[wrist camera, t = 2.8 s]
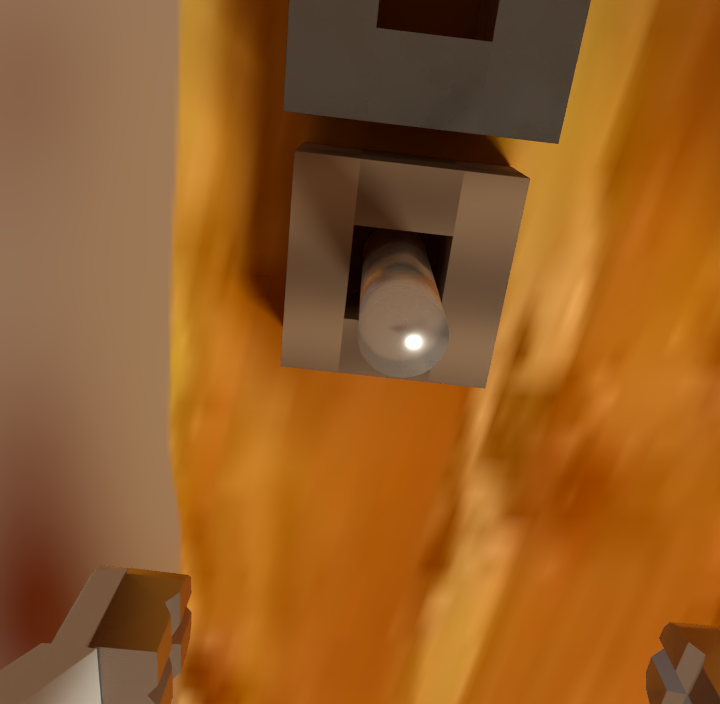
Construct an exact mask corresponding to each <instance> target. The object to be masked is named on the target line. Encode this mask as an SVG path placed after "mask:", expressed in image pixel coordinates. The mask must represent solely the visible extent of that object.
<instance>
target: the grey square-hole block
mask: <svg viewBox="0 0 720 704" xmlns="http://www.w3.org/2000/svg"><path fill="white" fill-rule="evenodd" d="M590 1H591V0H481V4H480V10H479V16H478V22H477V28H476V34H475V40H473V39H464V38H456V37H448V36H440V35H432V34H423V33H415V32H407V31H399V30H391V29H383V28H377V22H378V13H379V4H380V0H289V14H288V32H287V50H286V67H285V85H284V103H283V111H286V112H294V113H303V114H311V115H319V116H328V117H336V118H345V119H353V120H362V121H370V122H378V123H387V124H395V125H404V126H412V127H421V128H429V129H437V130H446V131H454V132H463V133H471V134H480V135H488V136H497V137H505V138H513V139H522V140H530V141H539V142H547V143H556V144H558V143H559V138H560V134H561V129H562V125H563V121H564V116H565V112H566V107H567V103H568V98H569V94H570V90H571V85H572V81H573V76H574V72H575V68H576V63H577V59H578V54H579V50H580V46H581V41H582V37H583V32H584V28H585V23H586V19H587V15H588V10H589V6H590Z"/></svg>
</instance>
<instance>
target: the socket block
mask: <svg viewBox="0 0 720 704" xmlns="http://www.w3.org/2000/svg"><path fill="white" fill-rule="evenodd" d="M529 181H530V178H528V177H527V176H525V175H523V174H522V173H520V172H519V171H517V170H515V169H514V168H512V167H509V166H501V165H492V164H484V163H475V162H467V161H458V160H450V159H441V158H433V157H424V156H416V155H407V154H399V153H390V152H382V151H373V150H365V149H356V148H348V147H339V146H331V145H322V144H314V143H305V142H304V143H303V144H302V145H301V146H300V147H299V148H297V149H296V150H295V151H294V165H293V181H292V196H291V212H290V227H289V243H288V258H287V273H286V289H285V304H284V320H283V335H282V351H281V366H284V367H293V368H302V369H311V370H320V371H330V372H339V373H348V374H357V375H366V376H376V377H385V378H394V379H403V380H412V381H422V382H431V383H440V384H449V385H458V386H468V387H477V388H485V387H486V382H487V378H488V373H489V368H490V364H491V359H492V354H493V350H494V345H495V340H496V336H497V331H498V326H499V321H500V317H501V312H502V307H503V303H504V298H505V293H506V289H507V284H508V279H509V275H510V270H511V265H512V261H513V256H514V251H515V247H516V242H517V237H518V233H519V228H520V223H521V219H522V214H523V209H524V204H525V200H526V195H527V190H528V186H529ZM354 225H359V226H368V227H376V228H385V229H394V230H403V231H411V232H420V233H429V234H437V235H441V239H440V245H439V252H438V258H437V264H436V270H435V276H434V280H435V283H436V286H437V290H438V293H439V296H440V300H441V303H442V306H443V310H444V313H445V316H446V320H447V323H448V327H449V341H448V346H447V349H446V351H445V353H444V355H443V357H442V358H441V359H440V361H439V362H438V363H437V364H436V365H435V366H434V367H432V368H431V369H430V370H428V371H426V372H424V373H422V374H420V375H417V376H413V377H406V378H399V377H392V376H388V375H385V374H383V373H381V372H379V371H377V370H376V369H374V368H373V367H372V366H371V365H370V364H369V363H368V362H367V361H366V360H365V358H364V357H363V355H362V353H361V351H360V348H359V344H358V322H359V308H360V293H353V292H347V290H348V281H349V272H350V262H351V253H352V243H353V234H354Z"/></svg>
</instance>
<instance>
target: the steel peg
mask: <svg viewBox="0 0 720 704" xmlns="http://www.w3.org/2000/svg"><path fill="white" fill-rule="evenodd" d="M448 341H449V327H448V323H447V320H446V316H445V313H444V310H443V306H442V303H441V300H440V296H439V293H438V290H437V286H436V283H435V280H434V276H433V273H432V270H431V266H430V263H429V260H428V256H427V253H426V250H425V246H424V244H423V241H422V239H421V238H420V237H419V235H418V234H417V233H416V232H411V231H403V230H394V229H385V228H380V229H378V230H377V231H375V232H374V233H373V234H372V235H371V236H370V237H369V239H368V240H367V242H366V244H365V247H364V252H363V264H362V279H361V293H360V308H359V322H358V344H359V348H360V351H361V353H362V355H363V357H364V358H365V360H366V361H367V362H368V363H369V364H370V365H371V366H372V367H373V368H374V369H376V370H377V371H379V372H381V373H383V374H385V375H388V376H392V377H399V378H406V377H413V376H417V375H420V374H422V373H424V372H426V371H428V370H430V369H431V368H432V367H434V366H435V365H436V364H437V363H438V362H439V361H440V359H441V358H442V357H443V355H444V353H445V351H446V349H447V346H448Z"/></svg>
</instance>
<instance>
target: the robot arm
mask: <svg viewBox="0 0 720 704" xmlns="http://www.w3.org/2000/svg"><path fill="white" fill-rule="evenodd" d="M190 595H191V577H190V576H189V575H184V574H176V573H168V572H160V571H151V570H143V569H135V568H130V569H129V568H122V567H114V566H106V565H100V566H99V567H97V568H96V569H95V570H94V571H93V572H92V574H91V576H90V578H89V579H88V581H87V583H86V584H85V586H84V588H83V589H82V592H81V593H80V595H79V597H78V598H77V600H76V602H75V603H74V605H73V607H72V608H71V610H70V612H69V614H68V615H67V617H66V619H65V621H64V623H63V624H62V626H61V628H60V629H59V631H58V633H57V635H56V636H55V638H54V640H53V641H52V643H51V644H45V643H41V644H40V645H38V646H37V647H35V648H34V649H32V650H31V651H29V652H28V653H26V654H24V655H23V656H21V657H20V658H18V659H17V660H15V661H14V662H12V663H11V664H10V665H8V666H6V667H5V668H3V669H2V670H0V704H171V700H172V698H173V687H172V686H173V683H172V681H173V678H175V677H176V676H177V675H178V674H179V673H181V670H182V667H183V664H184V660H185V657H186V653H187V648H188V644H189V639H190V631H191V611H190V610H189V609H188V608H187V607H186V606H187V603H188V601H189V598H190ZM659 639H660V641H661V643H662V645H663V647H664V649H662V650H661V651H659V652H658V653H657V654H655V655H654V656H652V657H651V659H650V662H649V665H648V668H647V671H646V690H647V695H648V699H649V703H650V704H720V626H709V625H698V624H686V623H675V622H670V623H668V624H667V625H666V626H665V627H664V628H663V630H662V633H661V635H660V637H659Z"/></svg>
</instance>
